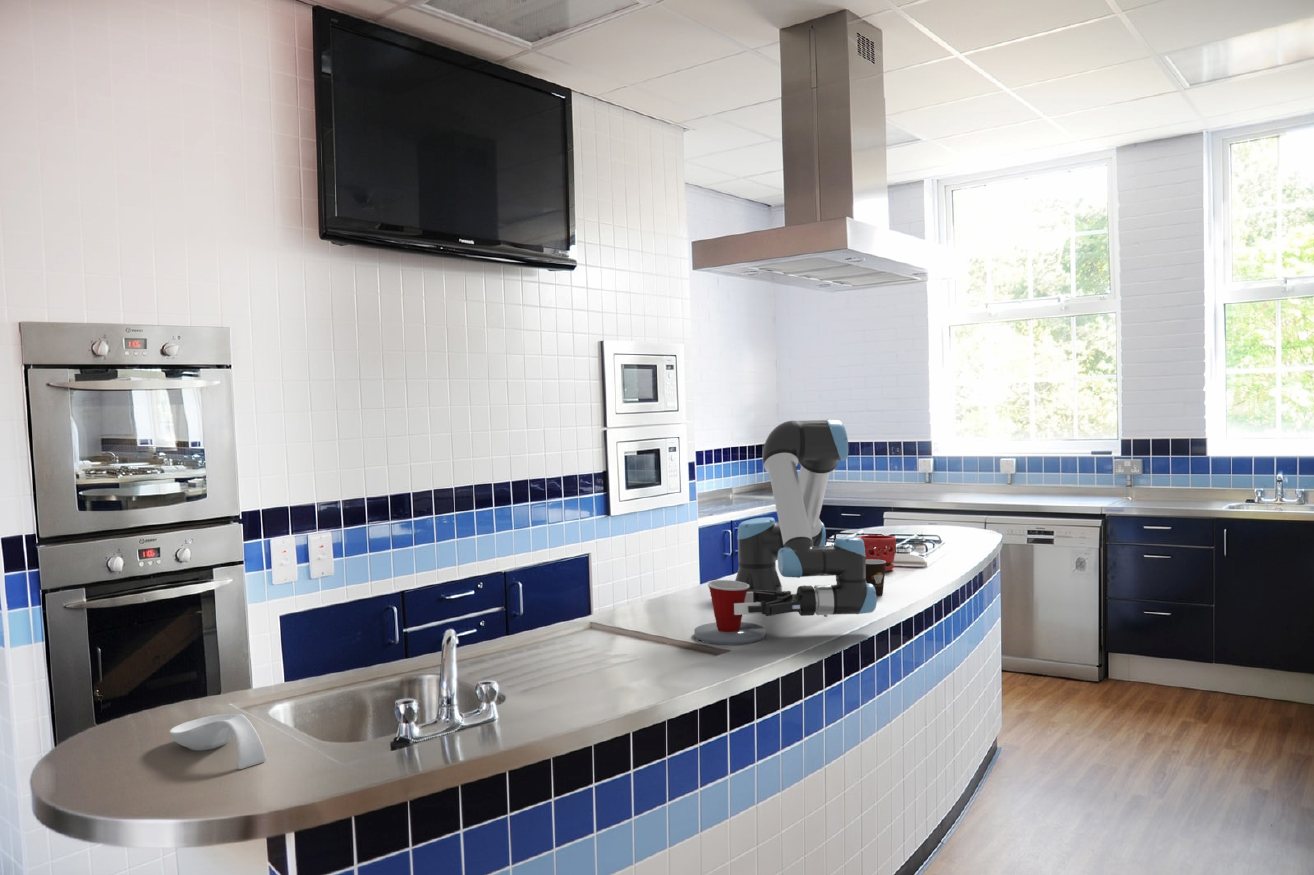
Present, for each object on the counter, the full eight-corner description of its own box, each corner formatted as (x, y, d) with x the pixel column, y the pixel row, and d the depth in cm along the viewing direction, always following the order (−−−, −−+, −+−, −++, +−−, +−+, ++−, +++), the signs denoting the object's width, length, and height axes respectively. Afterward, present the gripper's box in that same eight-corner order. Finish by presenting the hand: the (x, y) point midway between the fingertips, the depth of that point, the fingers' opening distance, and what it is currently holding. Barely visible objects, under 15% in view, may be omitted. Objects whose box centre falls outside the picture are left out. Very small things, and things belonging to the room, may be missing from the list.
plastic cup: (747, 635, 222) (746, 587, 222) (704, 634, 225) (703, 586, 224) (753, 625, 233) (752, 579, 232) (712, 624, 235) (710, 578, 235)
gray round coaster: (685, 631, 234) (684, 625, 234) (748, 624, 239) (748, 619, 239) (708, 647, 217) (708, 641, 217) (776, 640, 222) (776, 634, 222)
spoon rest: (158, 747, 160) (157, 707, 160) (225, 728, 169) (224, 691, 169) (219, 779, 145) (217, 735, 144) (288, 756, 154) (287, 715, 153)
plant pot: (903, 571, 313) (903, 537, 313) (870, 574, 309) (869, 539, 309) (884, 565, 325) (883, 532, 325) (851, 568, 322) (851, 535, 322)
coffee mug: (884, 591, 279) (883, 559, 279) (888, 596, 271) (887, 563, 271) (846, 591, 281) (845, 559, 280) (849, 597, 272) (848, 564, 272)
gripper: (825, 626, 216) (737, 629, 216) (805, 604, 241) (726, 607, 240) (824, 595, 216) (736, 598, 215) (804, 577, 241) (725, 579, 240)
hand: (731, 603), depth 228 cm, fingers open, 13 cm apart
